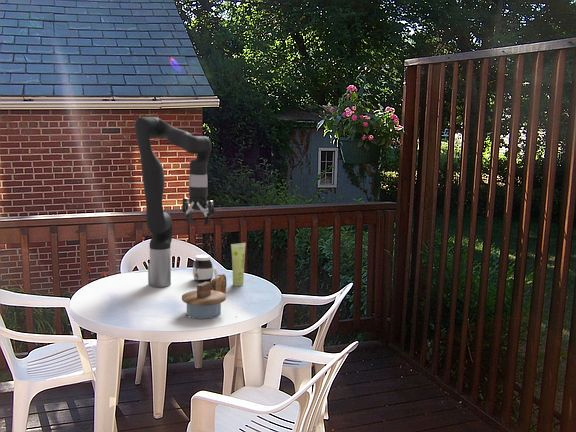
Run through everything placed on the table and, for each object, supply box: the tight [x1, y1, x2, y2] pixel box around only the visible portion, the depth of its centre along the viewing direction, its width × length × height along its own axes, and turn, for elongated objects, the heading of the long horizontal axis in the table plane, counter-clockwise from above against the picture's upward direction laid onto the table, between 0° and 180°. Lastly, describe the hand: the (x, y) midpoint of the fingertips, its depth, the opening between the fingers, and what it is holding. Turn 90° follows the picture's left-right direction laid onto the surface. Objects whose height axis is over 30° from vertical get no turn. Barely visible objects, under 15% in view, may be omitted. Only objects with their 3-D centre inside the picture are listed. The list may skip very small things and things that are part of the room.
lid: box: [181, 281, 227, 306], centre depth 228 cm, size 17×17×6 cm
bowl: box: [186, 303, 222, 320], centre depth 229 cm, size 13×13×6 cm
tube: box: [230, 242, 247, 287], centre depth 268 cm, size 6×5×20 cm
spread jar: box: [192, 254, 219, 283], centre depth 275 cm, size 12×11×12 cm
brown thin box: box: [210, 274, 227, 294], centre depth 253 cm, size 15×3×8 cm, turn 168°
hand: (197, 224), depth 243 cm, fingers open, 8 cm apart
